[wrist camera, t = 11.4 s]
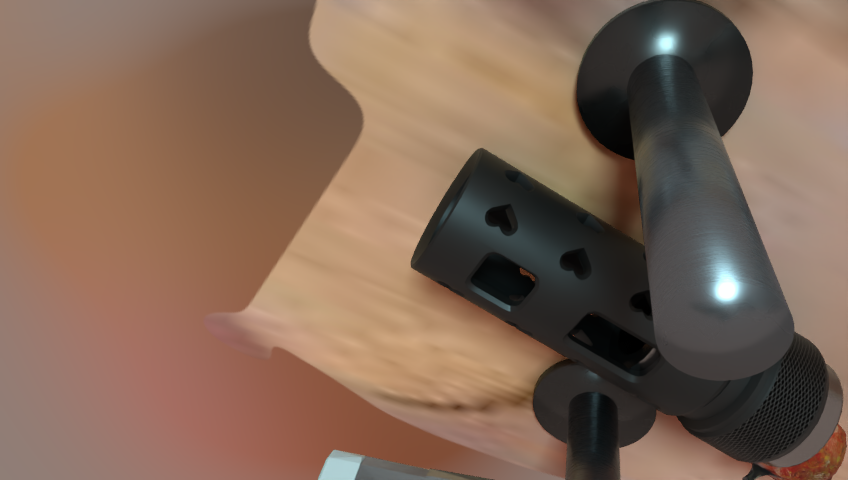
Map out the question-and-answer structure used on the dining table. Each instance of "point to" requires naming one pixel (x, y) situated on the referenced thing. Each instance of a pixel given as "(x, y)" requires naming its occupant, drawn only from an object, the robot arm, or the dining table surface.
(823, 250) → the dining table surface
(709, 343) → the posts
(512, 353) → the dining table surface
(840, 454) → the pomegranate
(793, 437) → the muzzle brake
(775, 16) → the dining table surface
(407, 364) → the dining table surface
